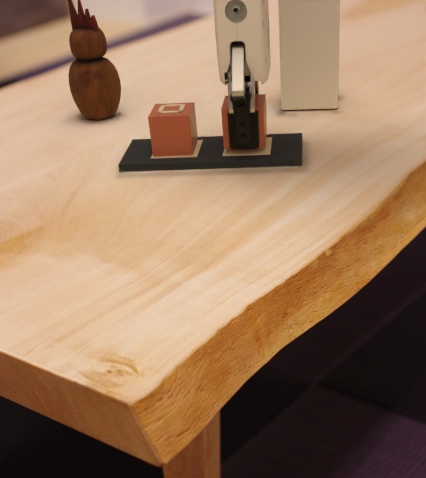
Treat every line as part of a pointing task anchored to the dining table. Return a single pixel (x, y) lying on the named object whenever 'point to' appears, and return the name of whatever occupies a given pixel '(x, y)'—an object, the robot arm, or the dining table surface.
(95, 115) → the wooden figurine
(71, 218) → the dining table surface
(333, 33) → the milk carton
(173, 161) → the word mat
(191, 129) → the red letter o block
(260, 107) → the red letter k block
